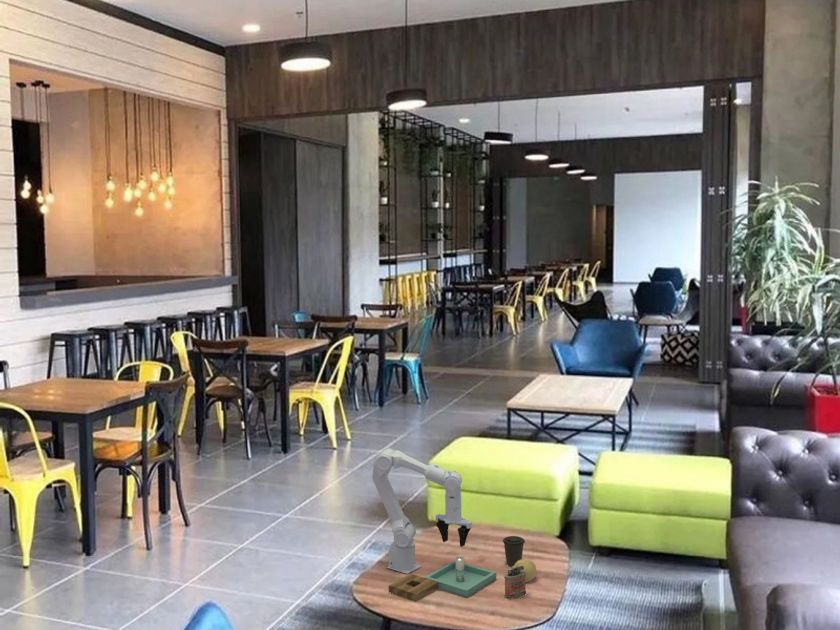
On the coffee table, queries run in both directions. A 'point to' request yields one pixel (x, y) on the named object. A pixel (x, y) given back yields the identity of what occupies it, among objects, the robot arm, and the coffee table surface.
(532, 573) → the apple
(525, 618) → the coffee table surface
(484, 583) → the tray
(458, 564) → the pin
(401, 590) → the pin block
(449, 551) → the coffee table surface
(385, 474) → the robot arm
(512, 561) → the coffee cup
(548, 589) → the coffee table surface
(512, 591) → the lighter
